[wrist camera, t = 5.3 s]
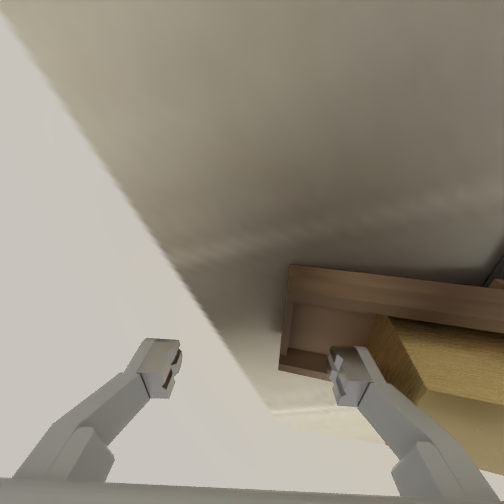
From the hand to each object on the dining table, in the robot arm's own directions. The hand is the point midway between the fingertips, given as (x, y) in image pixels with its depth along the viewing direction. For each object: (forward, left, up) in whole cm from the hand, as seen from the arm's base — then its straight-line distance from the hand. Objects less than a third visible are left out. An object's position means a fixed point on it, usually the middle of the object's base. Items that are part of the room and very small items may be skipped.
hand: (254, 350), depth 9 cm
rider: (-9, 0, -1) cm, 9 cm away
